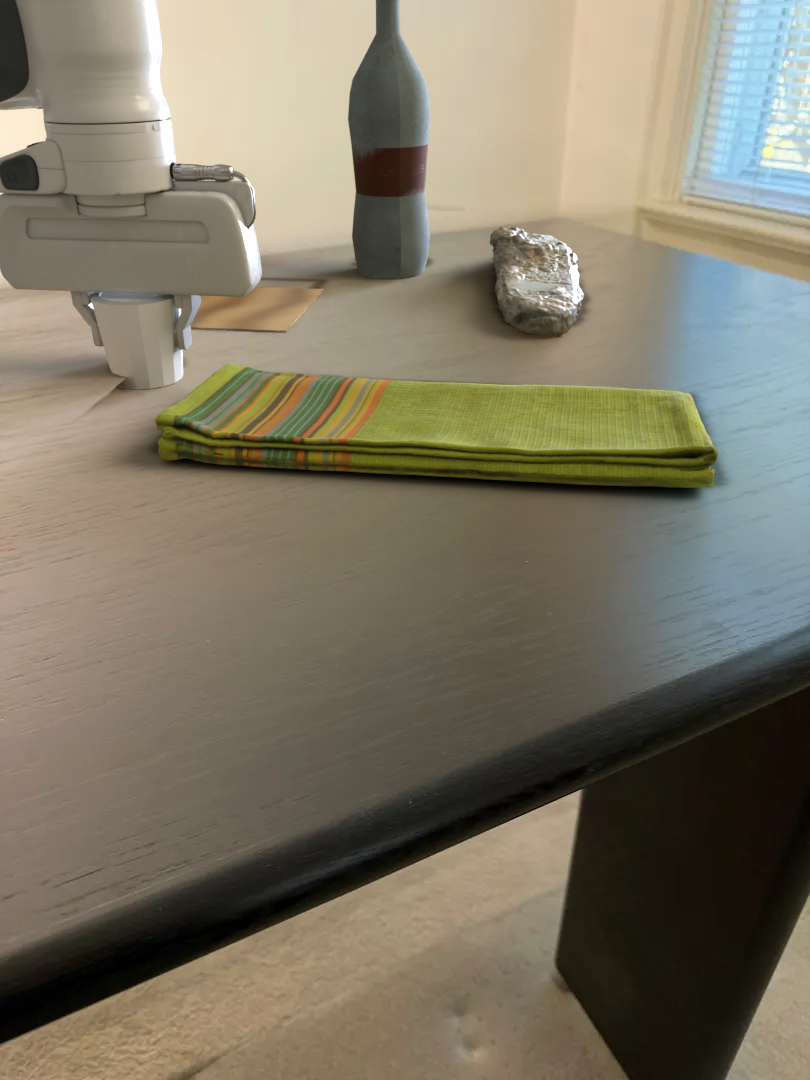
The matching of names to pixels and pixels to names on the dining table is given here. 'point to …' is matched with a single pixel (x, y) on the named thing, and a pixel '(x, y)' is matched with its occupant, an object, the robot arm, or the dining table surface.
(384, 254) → the bottle
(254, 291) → the cork mat
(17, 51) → the robot arm
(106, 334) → the white cup
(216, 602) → the dining table surface
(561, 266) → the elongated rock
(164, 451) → the dish towel
